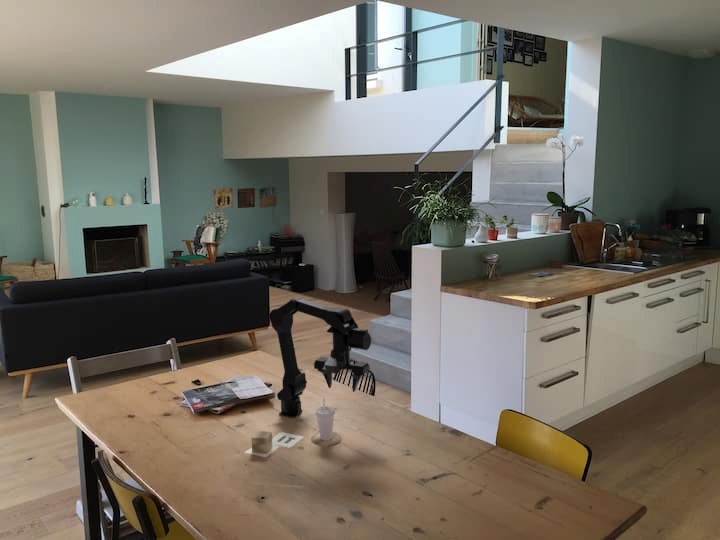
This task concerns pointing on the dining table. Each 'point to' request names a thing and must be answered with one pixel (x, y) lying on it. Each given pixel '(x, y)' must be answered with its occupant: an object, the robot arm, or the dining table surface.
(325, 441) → the coaster
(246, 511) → the dining table surface
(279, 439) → the tile
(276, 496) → the dining table surface
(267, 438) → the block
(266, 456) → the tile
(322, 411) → the smoothie
